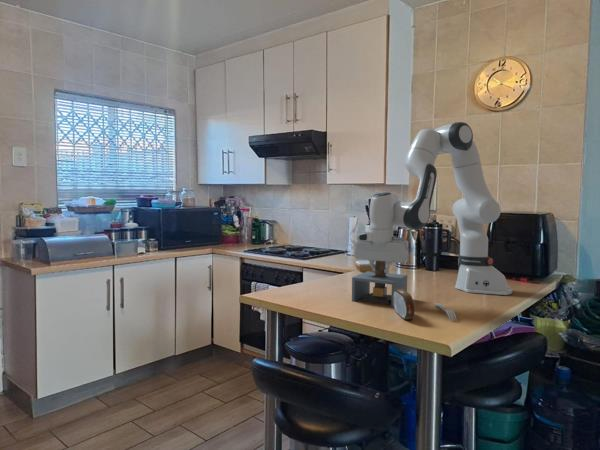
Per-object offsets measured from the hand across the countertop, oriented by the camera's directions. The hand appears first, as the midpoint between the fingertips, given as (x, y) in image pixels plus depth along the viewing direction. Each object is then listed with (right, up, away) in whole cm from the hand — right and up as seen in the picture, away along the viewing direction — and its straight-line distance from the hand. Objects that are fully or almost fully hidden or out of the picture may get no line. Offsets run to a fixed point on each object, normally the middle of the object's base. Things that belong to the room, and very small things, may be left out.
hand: (380, 273), depth 168 cm
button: (0, -8, 0) cm, 8 cm away
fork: (+18, -13, -17) cm, 28 cm away
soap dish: (+5, -6, +65) cm, 66 cm away
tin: (+3, -12, -22) cm, 25 cm away
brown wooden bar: (0, -5, 0) cm, 5 cm away
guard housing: (0, -10, +1) cm, 10 cm away
